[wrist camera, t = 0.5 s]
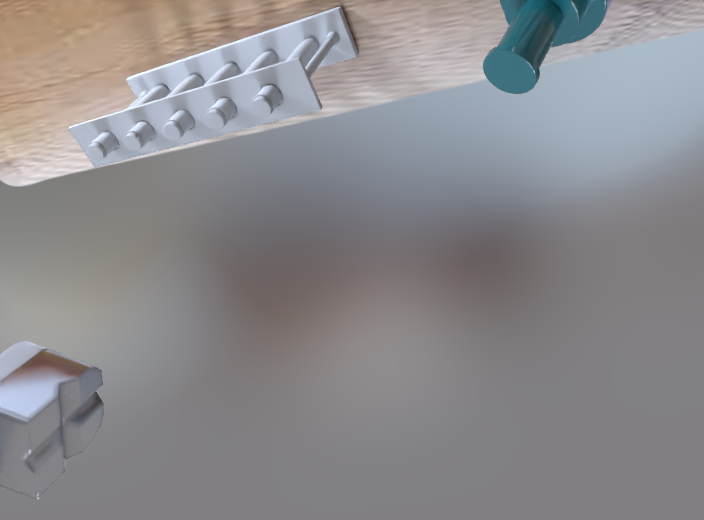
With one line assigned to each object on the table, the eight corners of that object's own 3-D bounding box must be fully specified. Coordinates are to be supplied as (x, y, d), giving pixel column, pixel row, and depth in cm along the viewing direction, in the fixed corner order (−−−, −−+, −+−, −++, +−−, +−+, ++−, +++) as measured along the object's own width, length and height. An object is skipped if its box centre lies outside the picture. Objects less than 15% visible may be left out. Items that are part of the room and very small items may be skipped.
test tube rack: (341, 5, 53) (289, 69, 43) (359, 53, 55) (313, 124, 46) (129, 76, 64) (51, 139, 54) (152, 113, 66) (81, 181, 57)
